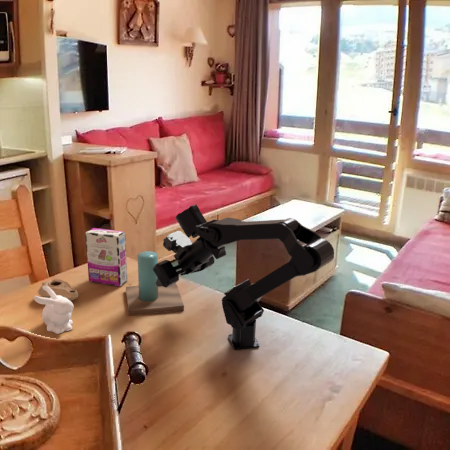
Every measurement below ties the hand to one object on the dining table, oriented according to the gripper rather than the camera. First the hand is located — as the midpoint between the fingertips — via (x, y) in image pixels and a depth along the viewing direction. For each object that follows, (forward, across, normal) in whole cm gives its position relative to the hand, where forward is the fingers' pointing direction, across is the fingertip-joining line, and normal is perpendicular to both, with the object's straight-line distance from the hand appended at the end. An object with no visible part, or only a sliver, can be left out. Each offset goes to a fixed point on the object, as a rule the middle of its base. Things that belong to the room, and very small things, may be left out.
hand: (169, 279), depth 140 cm
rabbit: (+18, +25, -4) cm, 31 cm away
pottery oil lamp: (+27, +16, -13) cm, 34 cm away
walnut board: (+12, -2, +1) cm, 12 cm away
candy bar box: (+26, -2, -13) cm, 29 cm away
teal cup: (+11, 0, 0) cm, 11 cm away
